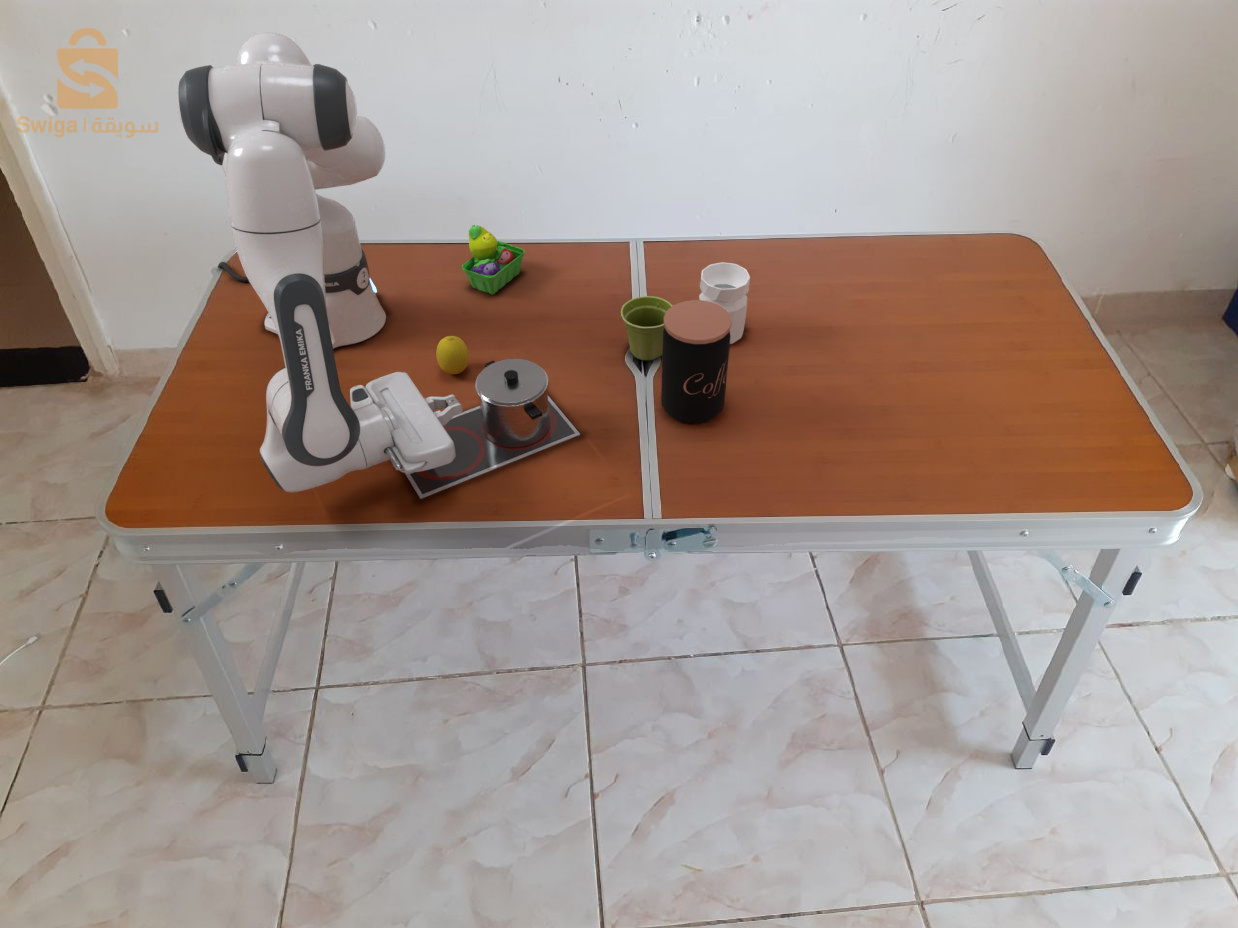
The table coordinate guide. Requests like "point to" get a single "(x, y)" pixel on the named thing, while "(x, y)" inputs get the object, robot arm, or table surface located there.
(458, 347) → the lemon
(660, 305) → the plant pot
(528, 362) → the steel pot
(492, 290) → the fruit basket
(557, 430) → the hob
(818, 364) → the table surface
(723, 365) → the coffee jar
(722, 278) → the vase
